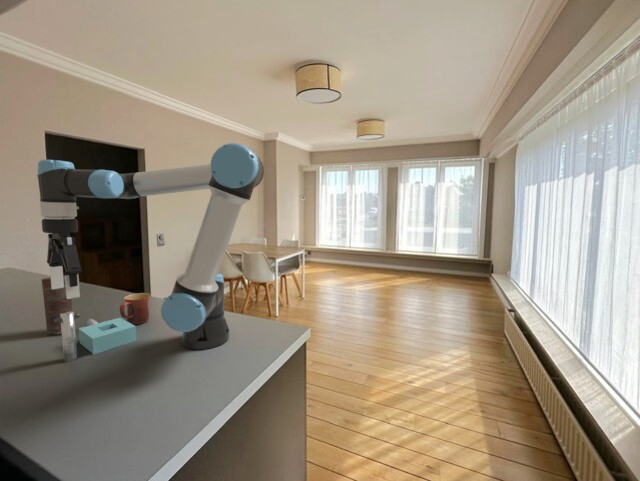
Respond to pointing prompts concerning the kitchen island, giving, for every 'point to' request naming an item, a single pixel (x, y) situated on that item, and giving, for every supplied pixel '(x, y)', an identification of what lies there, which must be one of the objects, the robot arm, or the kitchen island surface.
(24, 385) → the kitchen island surface
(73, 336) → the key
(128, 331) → the chuck block
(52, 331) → the brown mottled cylinder
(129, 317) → the mug
